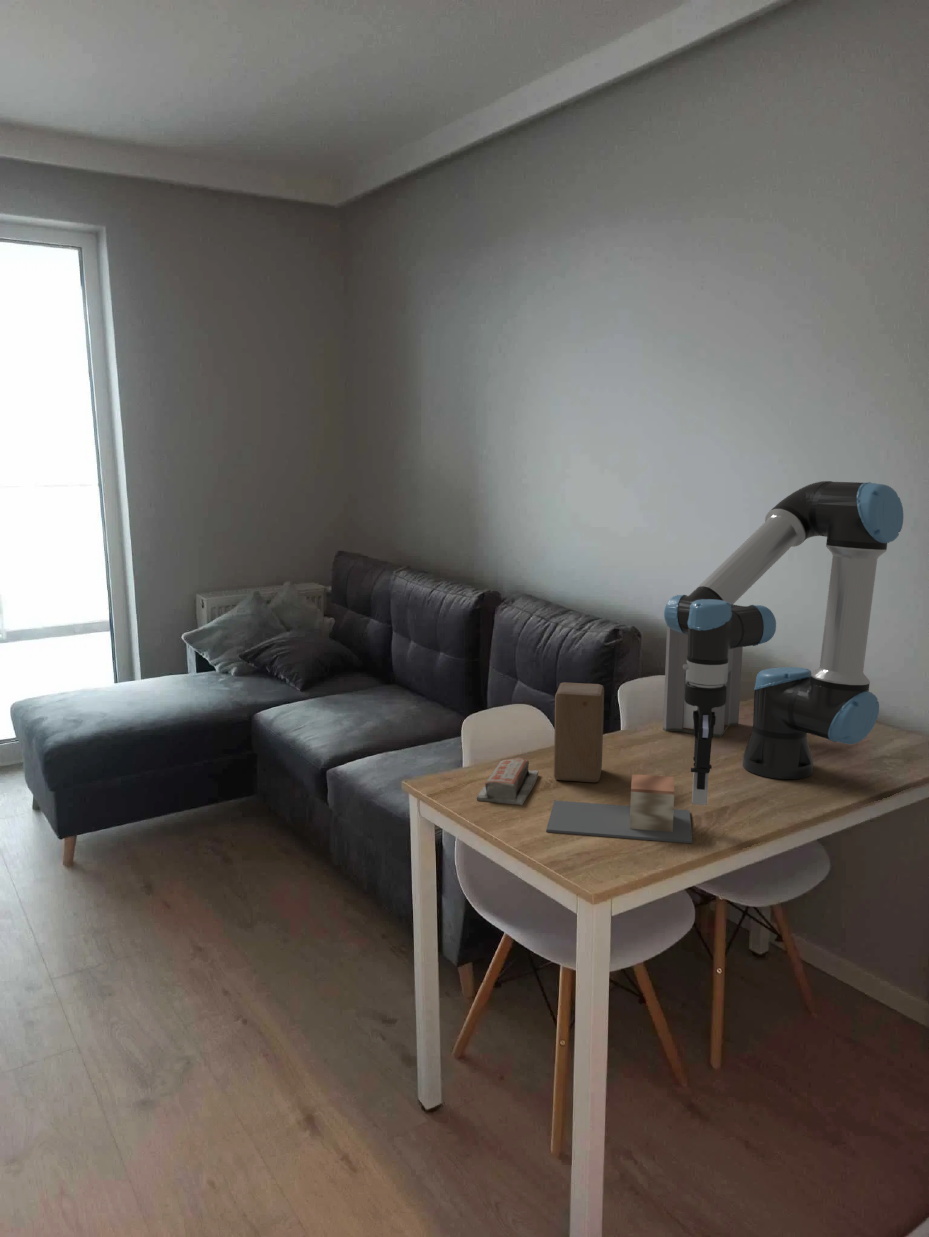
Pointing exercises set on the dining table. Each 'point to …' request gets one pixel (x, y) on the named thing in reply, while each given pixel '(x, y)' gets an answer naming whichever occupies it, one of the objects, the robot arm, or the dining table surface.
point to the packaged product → (509, 782)
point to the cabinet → (675, 707)
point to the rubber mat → (612, 822)
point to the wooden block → (578, 732)
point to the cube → (652, 803)
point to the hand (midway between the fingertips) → (699, 803)
